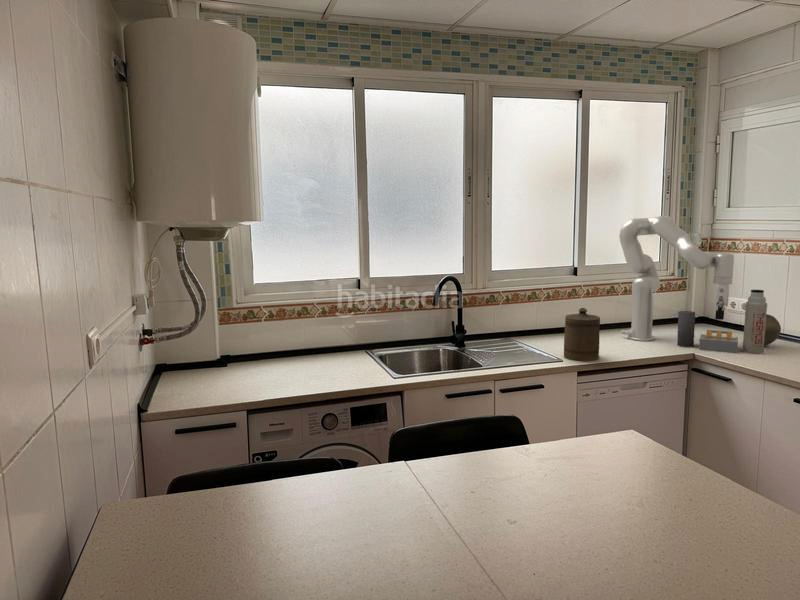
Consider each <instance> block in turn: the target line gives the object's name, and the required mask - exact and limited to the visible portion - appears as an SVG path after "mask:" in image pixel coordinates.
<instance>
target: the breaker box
mask: <svg viewBox="0 0 800 600" xmlns="http://www.w3.org/2000/svg"><path fill="white" fill-rule="evenodd" d="M716 336H717V334H716V333H712V337H707V333H701V334H700V337H699V344H698V345H699V346H698V350H699V351H710V352H718V353H719V352H721V353H732V354H738V348H739V347H738V345H739V344H738V343H739V337H738V336H736V335H732V339H726V338H727V334H722V337H721V338H716Z"/></svg>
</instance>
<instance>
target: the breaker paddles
mask: <svg viewBox="0 0 800 600" xmlns="http://www.w3.org/2000/svg"><path fill="white" fill-rule="evenodd" d="M706 334H707V337H712V334H716V335H717V336H716V338H721V337H722V335H727V338H726V339H732V336H733V331H729V330H728V331H727V330H714V329H707V330H706Z"/></svg>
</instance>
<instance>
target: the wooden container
mask: <svg viewBox="0 0 800 600" xmlns="http://www.w3.org/2000/svg"><path fill="white" fill-rule="evenodd" d="M578 312H579V313H571V314H567V315H565V319H564V322H565V323H564V337H563V339H564V341H563V357H564V358H565V359H568V360H572V361H577V362H592V361H597V360H598V359H600V325H601V316H598V315H594V314H588V313H587V312H588V309H587V308H585V307H581V308H579V309H578Z"/></svg>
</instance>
